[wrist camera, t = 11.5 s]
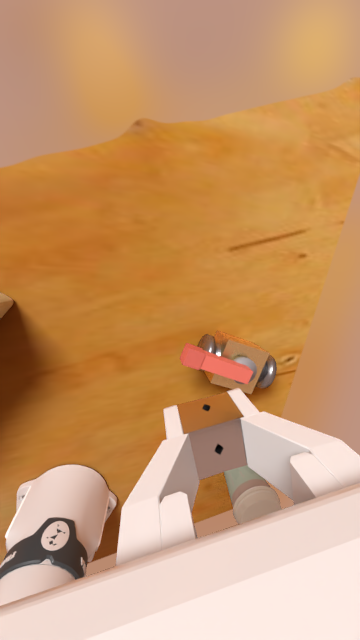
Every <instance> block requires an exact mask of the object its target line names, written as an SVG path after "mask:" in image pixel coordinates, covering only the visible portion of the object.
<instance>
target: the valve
mask: <svg viewBox="0 0 360 640" xmlns="http://www.w3.org/2000/svg"><path fill="white" fill-rule="evenodd" d="M197 347H200V348H202V349H203V350H205V351H207V352H210V353H213V354H216V355H219V356H222V357H224V358H227V359H230V360H234V359H235V358H237V357H241V356H244V357H248V358H249V359H251V360H252V361H253V362H254V363H255V364H256V367H257V373H256V376H255V378H254V379H253V380H252V381H251V382H249V383H248V384H238V383H236V382H235V381H234V380H233V379H230V378H227V377H224V376H221V375H218V374H215V373H212V372H209V371H206V370H203V369H199V370H200V371H204V373H205V374H206V376H207V378H208V379H209V381H210V383H213V384H216V385H220V386H223V387H227V388H230V389H236V388H239V389H241V390H242V392H245V393H248V394H252V392H253V390H254V387H258V388H262V389H264V388H267V387H268V386H270V385H271V383H272V382H273V380H274V378H275V375H276V362H275V359H274V358H273V357H272V356H271V355H269V354H270V353H269V352H267V351H265V350H264V349H262V348H261V347H259V346H258V345H256V344H255V343H253V342H250V341H247V340H244V339H241V338H238V337H235V336H232V335H229V334H227V333H224V332H221V331H218V330H217V331H216V334H215V336H214V337H213V336H211V335H208V334H205V335H204V336H203V337H202V338H201V340H200V342H199V344H198V346H197Z"/></svg>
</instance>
